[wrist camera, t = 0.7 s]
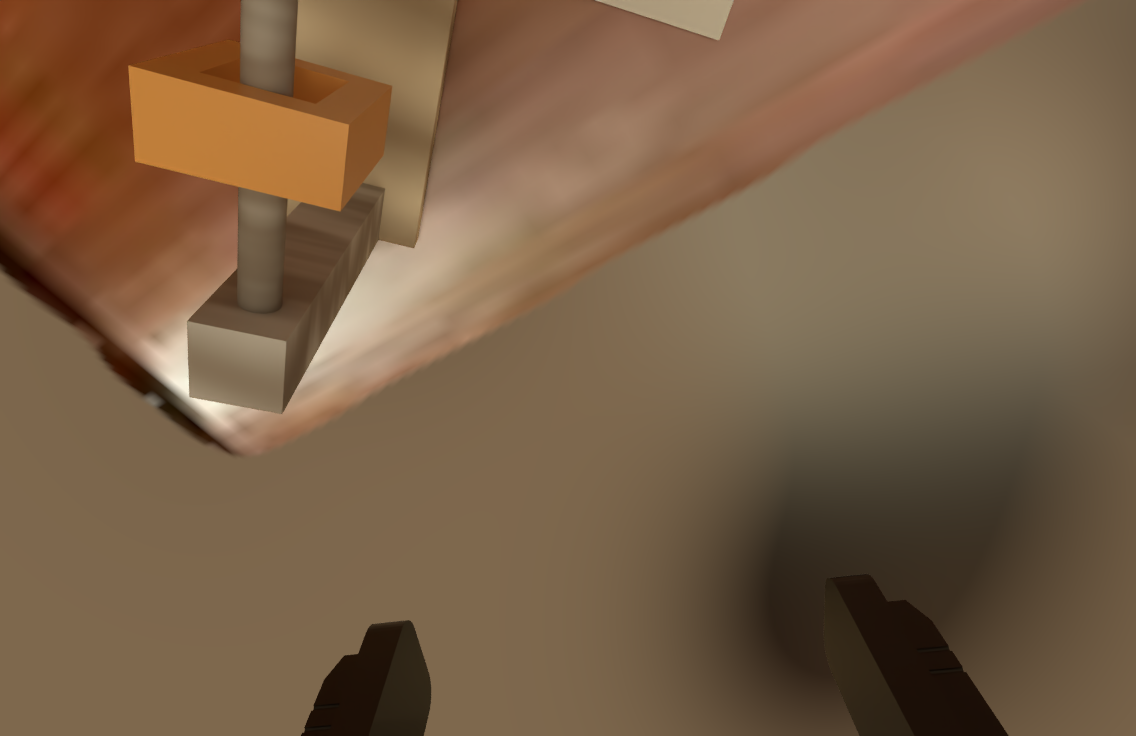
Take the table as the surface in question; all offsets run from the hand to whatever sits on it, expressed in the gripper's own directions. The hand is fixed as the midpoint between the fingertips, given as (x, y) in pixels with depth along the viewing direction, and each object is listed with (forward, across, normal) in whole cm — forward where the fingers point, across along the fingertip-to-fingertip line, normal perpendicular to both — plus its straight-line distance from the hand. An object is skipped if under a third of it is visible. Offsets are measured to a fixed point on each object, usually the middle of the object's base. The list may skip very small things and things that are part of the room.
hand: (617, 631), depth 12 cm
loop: (+15, +9, -11) cm, 21 cm away
